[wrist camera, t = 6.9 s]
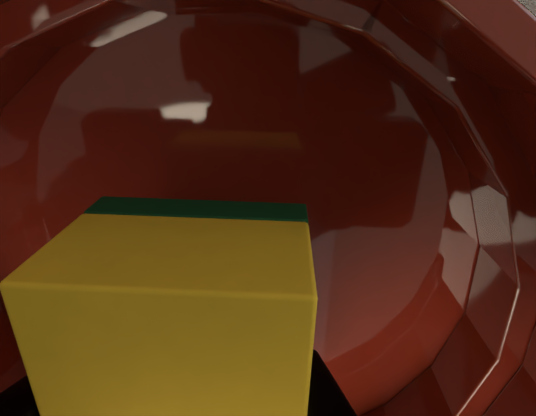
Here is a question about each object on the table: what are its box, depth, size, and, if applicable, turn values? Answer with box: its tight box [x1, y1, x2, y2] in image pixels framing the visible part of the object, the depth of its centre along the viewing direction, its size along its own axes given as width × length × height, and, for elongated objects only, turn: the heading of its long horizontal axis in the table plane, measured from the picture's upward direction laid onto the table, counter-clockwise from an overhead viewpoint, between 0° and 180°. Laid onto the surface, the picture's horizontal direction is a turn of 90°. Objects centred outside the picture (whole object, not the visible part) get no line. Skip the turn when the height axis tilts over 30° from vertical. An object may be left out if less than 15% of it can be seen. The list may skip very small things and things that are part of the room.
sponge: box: [0, 196, 318, 416], centre depth 8 cm, size 7×5×3 cm, turn 179°
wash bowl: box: [0, 0, 536, 416], centre depth 10 cm, size 17×17×4 cm
